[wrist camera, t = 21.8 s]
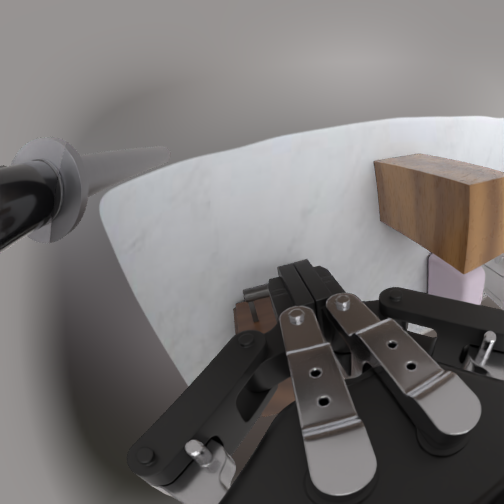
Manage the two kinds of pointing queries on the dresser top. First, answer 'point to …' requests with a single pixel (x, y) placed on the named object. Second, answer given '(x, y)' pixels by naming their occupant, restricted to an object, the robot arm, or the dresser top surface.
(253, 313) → the drawer
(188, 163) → the dresser top surface
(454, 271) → the electronic device
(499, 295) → the cup
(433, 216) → the stand
